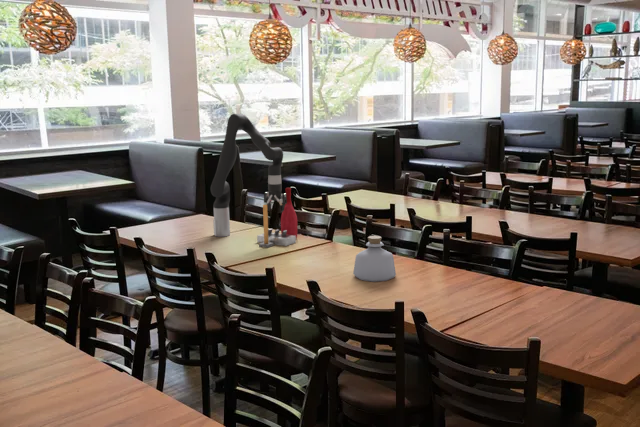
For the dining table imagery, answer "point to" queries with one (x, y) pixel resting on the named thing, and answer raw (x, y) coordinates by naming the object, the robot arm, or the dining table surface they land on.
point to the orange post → (265, 229)
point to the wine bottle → (289, 216)
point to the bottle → (374, 262)
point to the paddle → (270, 231)
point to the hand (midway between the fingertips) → (275, 210)
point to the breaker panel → (278, 239)
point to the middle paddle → (276, 232)
